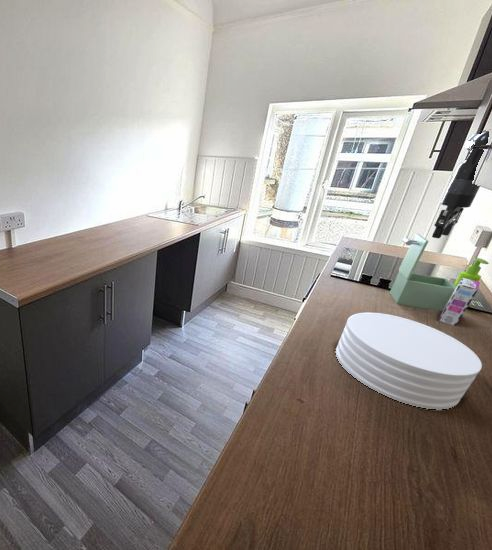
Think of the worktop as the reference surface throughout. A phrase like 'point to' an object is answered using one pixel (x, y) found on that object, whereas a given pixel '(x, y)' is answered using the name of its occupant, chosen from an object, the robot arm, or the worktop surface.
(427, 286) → the chest
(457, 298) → the candy bar box
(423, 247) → the lid
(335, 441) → the worktop surface
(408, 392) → the plate stack
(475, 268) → the soap dispenser
